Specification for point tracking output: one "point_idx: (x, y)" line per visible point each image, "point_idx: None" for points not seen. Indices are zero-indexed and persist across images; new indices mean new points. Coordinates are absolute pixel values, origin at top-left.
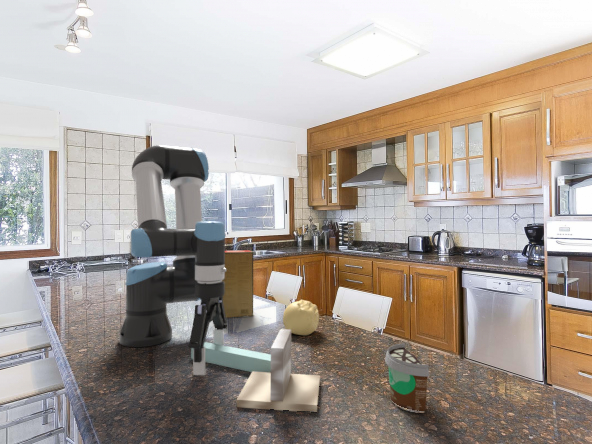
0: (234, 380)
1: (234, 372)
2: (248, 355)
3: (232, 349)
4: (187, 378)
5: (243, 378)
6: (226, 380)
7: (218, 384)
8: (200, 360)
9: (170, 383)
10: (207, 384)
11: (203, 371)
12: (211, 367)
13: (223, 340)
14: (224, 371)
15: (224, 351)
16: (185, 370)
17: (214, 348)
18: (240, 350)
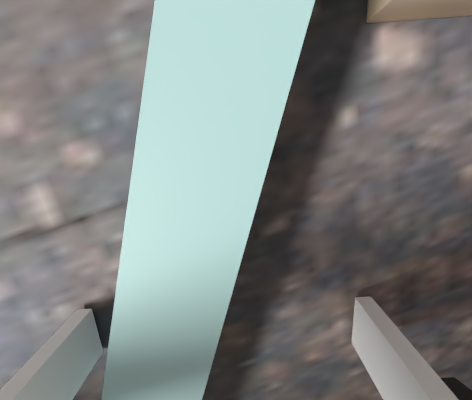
0: (403, 128)
1: (302, 164)
2: (273, 55)
3: (167, 257)
4: None
5: (375, 82)
6: (403, 172)
7: (449, 196)
8: (455, 389)
9: None
10: (447, 246)
11: (381, 312)
12: (260, 299)
13: (12, 382)
14: (297, 222)
15: (225, 301)
16: (309, 384)
17: (185, 383)
18: (168, 181)
